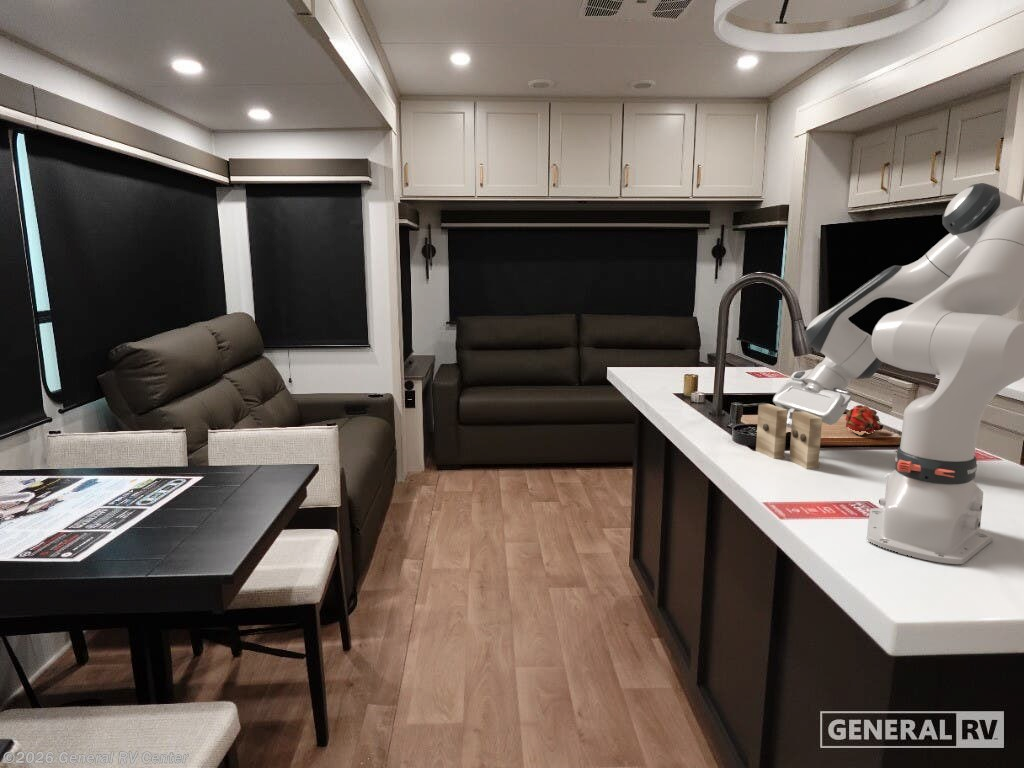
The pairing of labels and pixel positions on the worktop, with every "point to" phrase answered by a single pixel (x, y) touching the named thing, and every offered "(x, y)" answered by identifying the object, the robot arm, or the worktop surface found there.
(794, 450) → the tile two
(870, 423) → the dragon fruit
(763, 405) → the tile one
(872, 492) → the worktop surface
